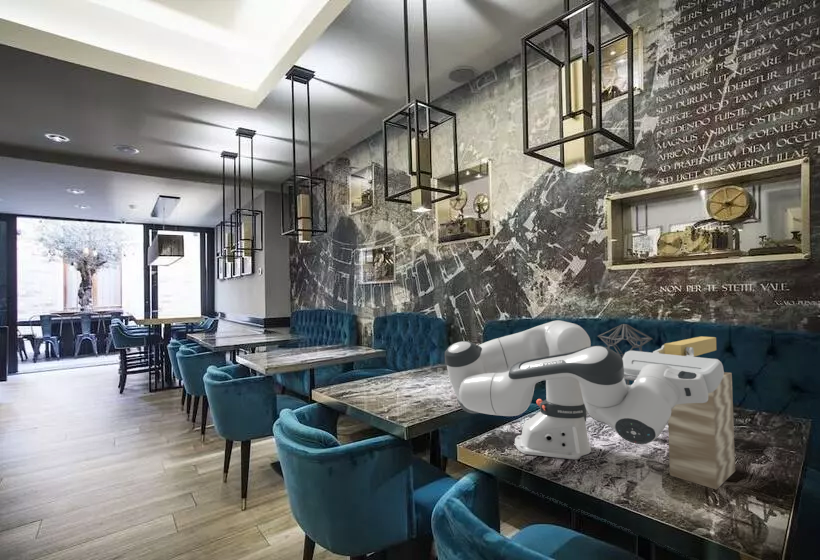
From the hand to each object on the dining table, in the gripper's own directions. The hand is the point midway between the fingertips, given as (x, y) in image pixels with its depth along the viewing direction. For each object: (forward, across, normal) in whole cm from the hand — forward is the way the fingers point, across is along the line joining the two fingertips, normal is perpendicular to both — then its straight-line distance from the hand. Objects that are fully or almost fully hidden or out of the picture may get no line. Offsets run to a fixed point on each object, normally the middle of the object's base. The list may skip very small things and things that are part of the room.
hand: (678, 348), depth 99 cm
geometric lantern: (+34, -39, -59) cm, 79 cm away
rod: (+7, 0, -7) cm, 10 cm away
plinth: (-4, 0, -37) cm, 37 cm away
